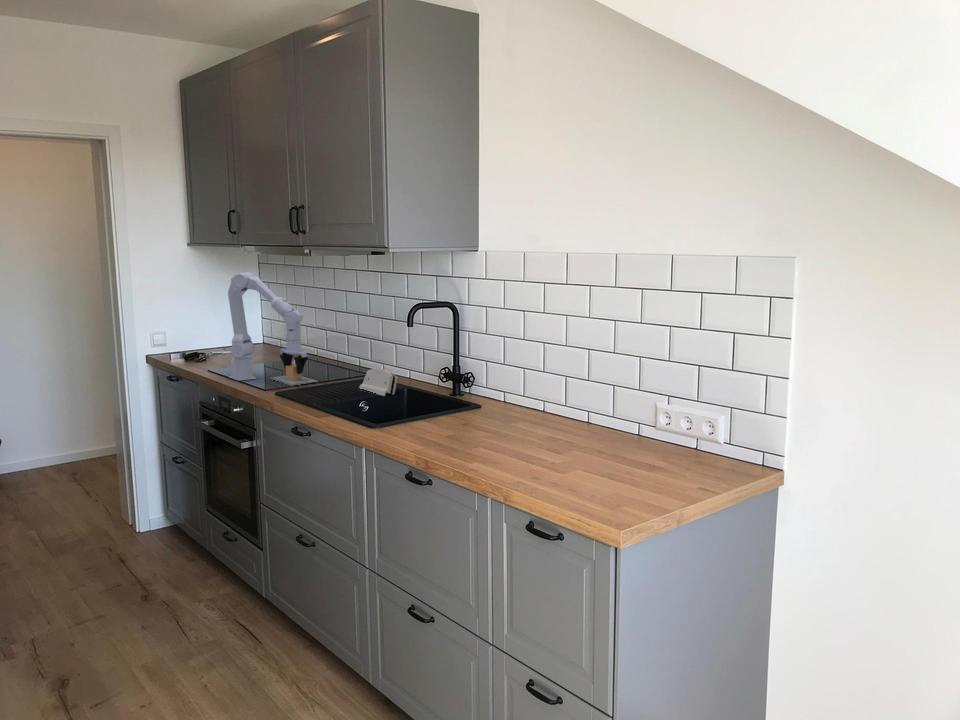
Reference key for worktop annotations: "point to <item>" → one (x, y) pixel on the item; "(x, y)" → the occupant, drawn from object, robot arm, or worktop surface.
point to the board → (293, 382)
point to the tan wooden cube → (292, 373)
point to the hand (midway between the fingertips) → (293, 372)
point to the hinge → (379, 382)
